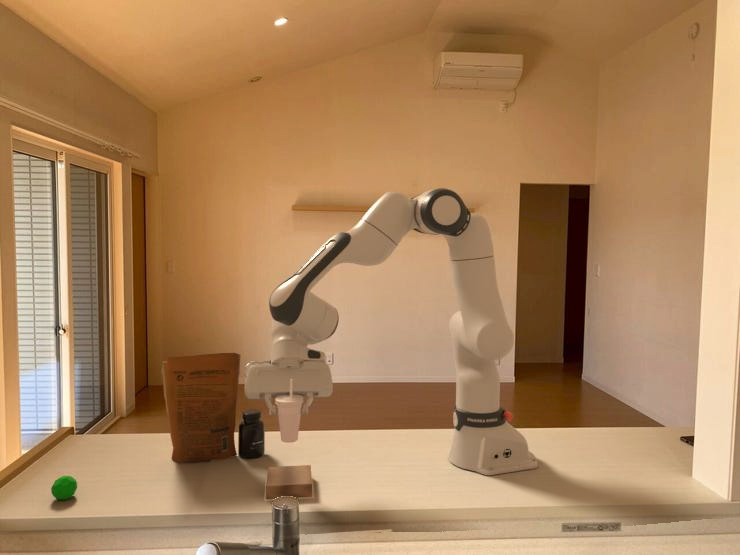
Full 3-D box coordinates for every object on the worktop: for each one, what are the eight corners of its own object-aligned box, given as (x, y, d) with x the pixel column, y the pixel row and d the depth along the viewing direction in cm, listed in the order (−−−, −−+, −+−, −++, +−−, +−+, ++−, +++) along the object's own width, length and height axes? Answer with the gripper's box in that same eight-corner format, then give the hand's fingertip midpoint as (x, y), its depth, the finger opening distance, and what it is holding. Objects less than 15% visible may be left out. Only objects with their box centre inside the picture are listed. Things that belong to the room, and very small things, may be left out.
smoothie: (290, 447, 122) (290, 384, 121) (269, 440, 126) (268, 380, 124) (309, 438, 127) (309, 378, 126) (288, 432, 131) (287, 374, 130)
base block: (310, 477, 133) (310, 465, 133) (312, 496, 123) (312, 483, 123) (268, 479, 132) (268, 467, 131) (266, 499, 122) (265, 486, 121)
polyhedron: (47, 503, 120) (46, 482, 120) (59, 493, 125) (58, 472, 125) (70, 503, 120) (69, 482, 120) (81, 493, 125) (81, 472, 125)
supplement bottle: (258, 462, 143) (258, 416, 142) (233, 459, 144) (233, 414, 143) (268, 451, 149) (268, 408, 148) (245, 449, 151) (244, 406, 150)
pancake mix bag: (241, 462, 142) (239, 354, 140) (162, 467, 139) (160, 356, 137) (242, 452, 149) (241, 349, 147) (168, 456, 146) (165, 351, 144)
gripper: (244, 354, 130) (240, 408, 121) (331, 352, 133) (334, 405, 124) (246, 368, 135) (242, 421, 126) (330, 366, 138) (332, 418, 129)
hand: (289, 413), depth 125 cm, fingers closed on smoothie, 6 cm apart
